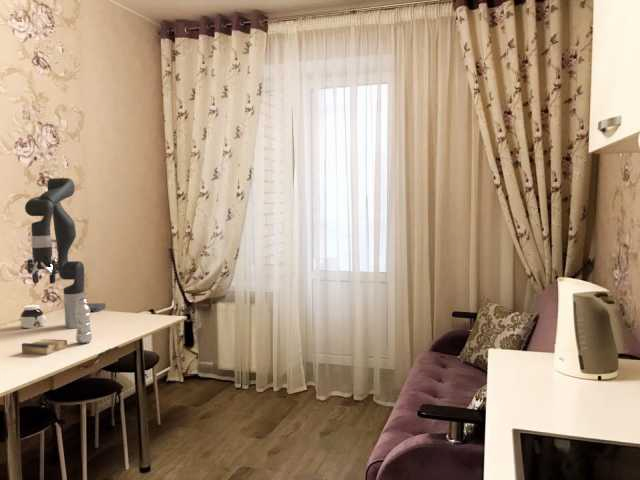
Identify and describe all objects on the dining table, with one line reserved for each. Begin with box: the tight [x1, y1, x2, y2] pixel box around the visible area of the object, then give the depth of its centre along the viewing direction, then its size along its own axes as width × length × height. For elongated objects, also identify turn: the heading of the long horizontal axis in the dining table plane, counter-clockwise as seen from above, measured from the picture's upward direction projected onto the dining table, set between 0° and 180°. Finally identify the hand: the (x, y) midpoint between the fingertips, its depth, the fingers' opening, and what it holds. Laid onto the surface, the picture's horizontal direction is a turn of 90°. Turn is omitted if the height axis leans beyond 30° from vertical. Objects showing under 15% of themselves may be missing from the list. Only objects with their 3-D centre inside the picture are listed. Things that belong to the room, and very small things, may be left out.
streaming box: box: [86, 302, 107, 313], centre depth 290 cm, size 13×13×5 cm
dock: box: [21, 338, 68, 356], centre depth 213 cm, size 12×12×4 cm
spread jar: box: [20, 304, 47, 330], centre depth 255 cm, size 12×11×12 cm
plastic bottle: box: [75, 297, 93, 344], centre depth 224 cm, size 6×7×20 cm
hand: (44, 283), depth 216 cm, fingers open, 8 cm apart
